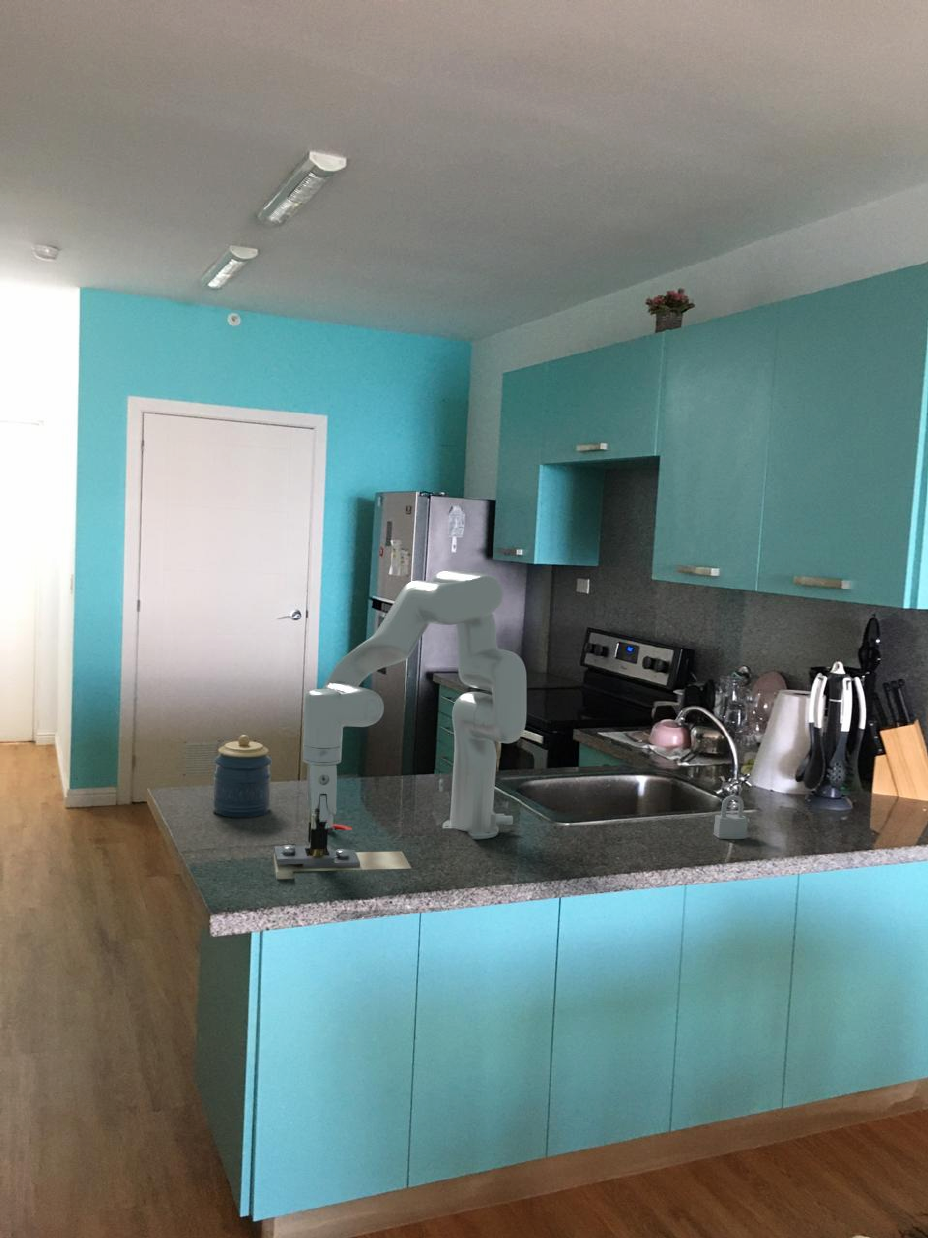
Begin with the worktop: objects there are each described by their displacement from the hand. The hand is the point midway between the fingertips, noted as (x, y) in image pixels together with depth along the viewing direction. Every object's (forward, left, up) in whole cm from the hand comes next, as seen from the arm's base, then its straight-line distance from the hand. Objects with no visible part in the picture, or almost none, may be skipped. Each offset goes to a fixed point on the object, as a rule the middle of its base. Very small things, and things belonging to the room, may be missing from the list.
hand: (317, 844), depth 203 cm
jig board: (-5, 0, -5) cm, 7 cm away
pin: (0, 0, -4) cm, 4 cm away
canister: (+13, -40, -5) cm, 42 cm away
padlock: (-98, -15, -5) cm, 99 cm away
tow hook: (-6, -22, -5) cm, 23 cm away
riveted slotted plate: (0, 0, -4) cm, 4 cm away
